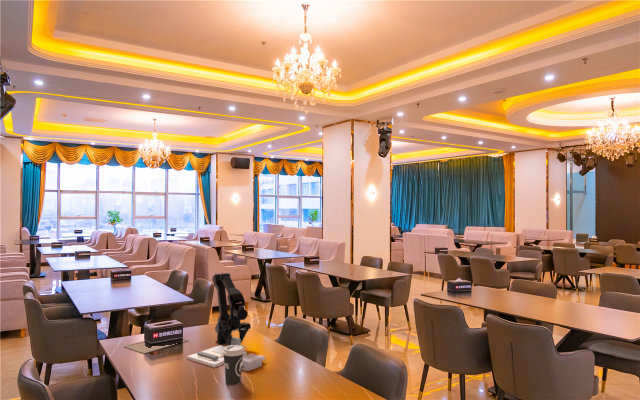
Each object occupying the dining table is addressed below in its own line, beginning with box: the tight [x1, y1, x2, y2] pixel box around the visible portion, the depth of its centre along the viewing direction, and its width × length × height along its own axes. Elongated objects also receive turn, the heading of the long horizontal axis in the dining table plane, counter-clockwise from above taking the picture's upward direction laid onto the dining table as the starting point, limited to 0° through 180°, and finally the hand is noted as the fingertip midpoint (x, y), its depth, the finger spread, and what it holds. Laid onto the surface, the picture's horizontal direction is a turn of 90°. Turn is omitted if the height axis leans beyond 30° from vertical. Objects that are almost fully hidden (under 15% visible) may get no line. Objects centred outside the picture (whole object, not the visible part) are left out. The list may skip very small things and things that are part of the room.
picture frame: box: [123, 338, 189, 355], centre depth 242 cm, size 19×1×28 cm
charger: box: [242, 353, 267, 372], centre depth 211 cm, size 5×9×15 cm
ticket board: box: [187, 344, 248, 368], centre depth 222 cm, size 22×20×3 cm
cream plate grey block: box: [223, 336, 247, 350], centre depth 232 cm, size 8×10×5 cm
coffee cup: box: [222, 345, 245, 386], centre depth 190 cm, size 10×10×15 cm
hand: (234, 345), depth 232 cm, fingers open, 8 cm apart
